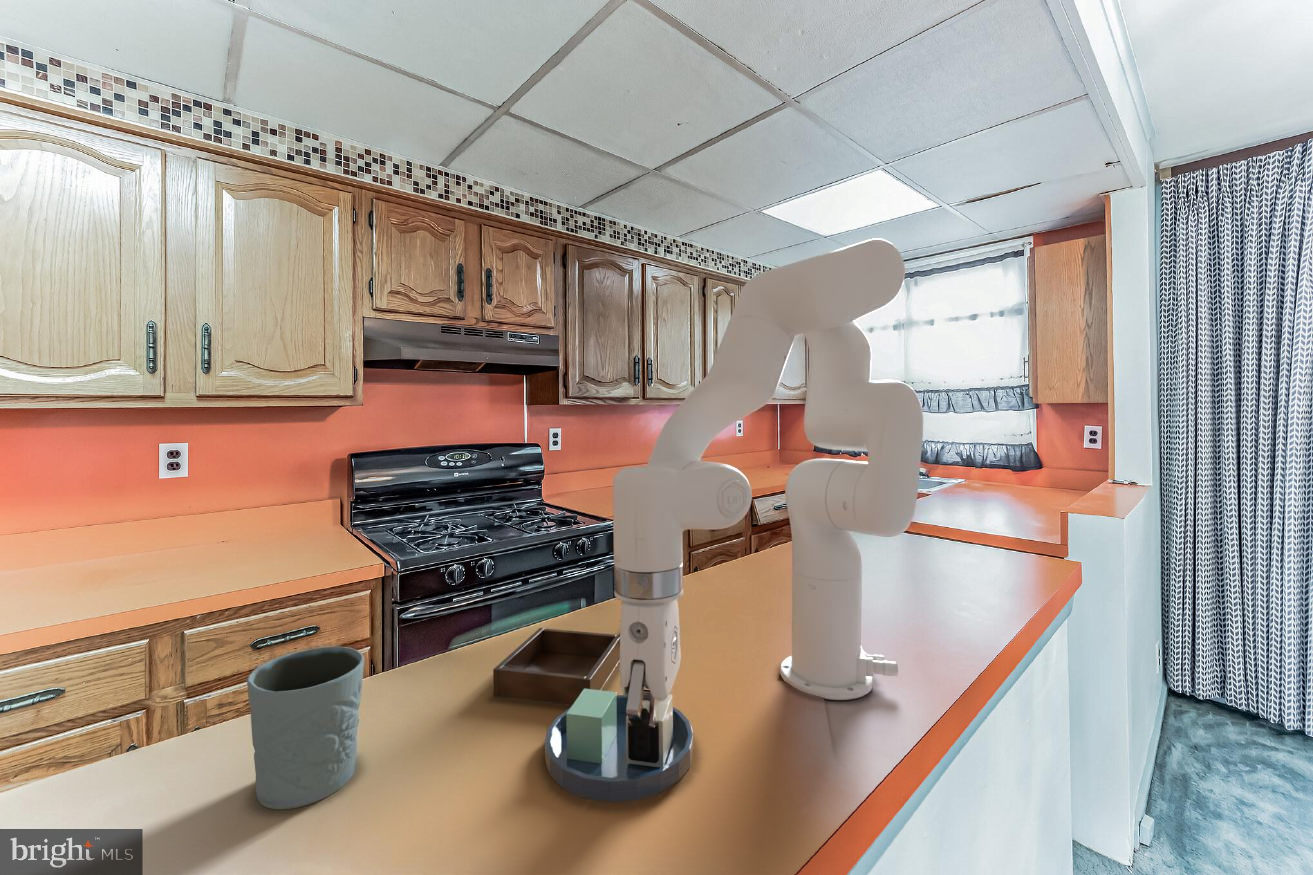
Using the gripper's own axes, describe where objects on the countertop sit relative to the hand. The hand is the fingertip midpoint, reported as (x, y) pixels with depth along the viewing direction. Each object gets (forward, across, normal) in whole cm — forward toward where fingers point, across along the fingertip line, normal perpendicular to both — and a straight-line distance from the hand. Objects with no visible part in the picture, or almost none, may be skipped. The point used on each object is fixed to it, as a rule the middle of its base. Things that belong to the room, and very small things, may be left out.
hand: (650, 740), depth 59 cm
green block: (+1, 0, +7) cm, 7 cm away
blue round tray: (+2, 0, +4) cm, 4 cm away
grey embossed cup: (+2, -11, +34) cm, 35 cm away
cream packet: (+1, 0, 0) cm, 1 cm away
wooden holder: (+2, +15, +16) cm, 22 cm away
